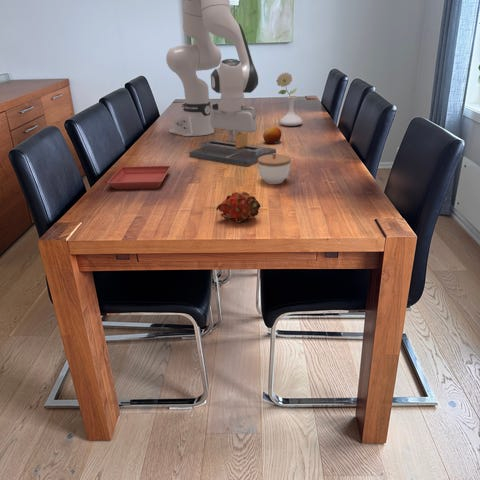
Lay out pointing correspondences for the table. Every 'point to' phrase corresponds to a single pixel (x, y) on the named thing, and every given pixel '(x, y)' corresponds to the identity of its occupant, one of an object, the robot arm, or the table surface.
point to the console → (230, 153)
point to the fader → (241, 140)
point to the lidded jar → (274, 168)
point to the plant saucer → (139, 177)
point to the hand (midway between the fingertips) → (234, 141)
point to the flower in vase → (290, 117)
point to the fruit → (272, 135)
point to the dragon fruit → (239, 207)
